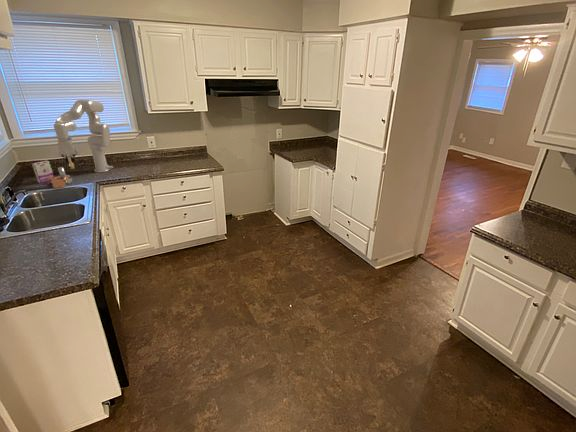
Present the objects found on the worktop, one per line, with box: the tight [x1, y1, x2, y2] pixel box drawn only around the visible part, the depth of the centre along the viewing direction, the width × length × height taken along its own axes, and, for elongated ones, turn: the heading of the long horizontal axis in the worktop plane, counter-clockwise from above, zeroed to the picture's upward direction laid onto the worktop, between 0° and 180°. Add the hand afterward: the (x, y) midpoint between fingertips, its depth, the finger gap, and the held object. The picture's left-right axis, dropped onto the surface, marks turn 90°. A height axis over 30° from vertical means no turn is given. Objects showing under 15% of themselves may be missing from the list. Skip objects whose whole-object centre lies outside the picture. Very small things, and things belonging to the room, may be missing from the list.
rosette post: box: [50, 166, 73, 189], centre depth 252 cm, size 10×20×12 cm, turn 20°
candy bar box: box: [31, 160, 55, 184], centre depth 255 cm, size 11×5×16 cm, turn 148°
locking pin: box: [67, 155, 76, 170], centre depth 248 cm, size 3×3×10 cm
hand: (70, 162), depth 248 cm, fingers closed on locking pin, 3 cm apart
